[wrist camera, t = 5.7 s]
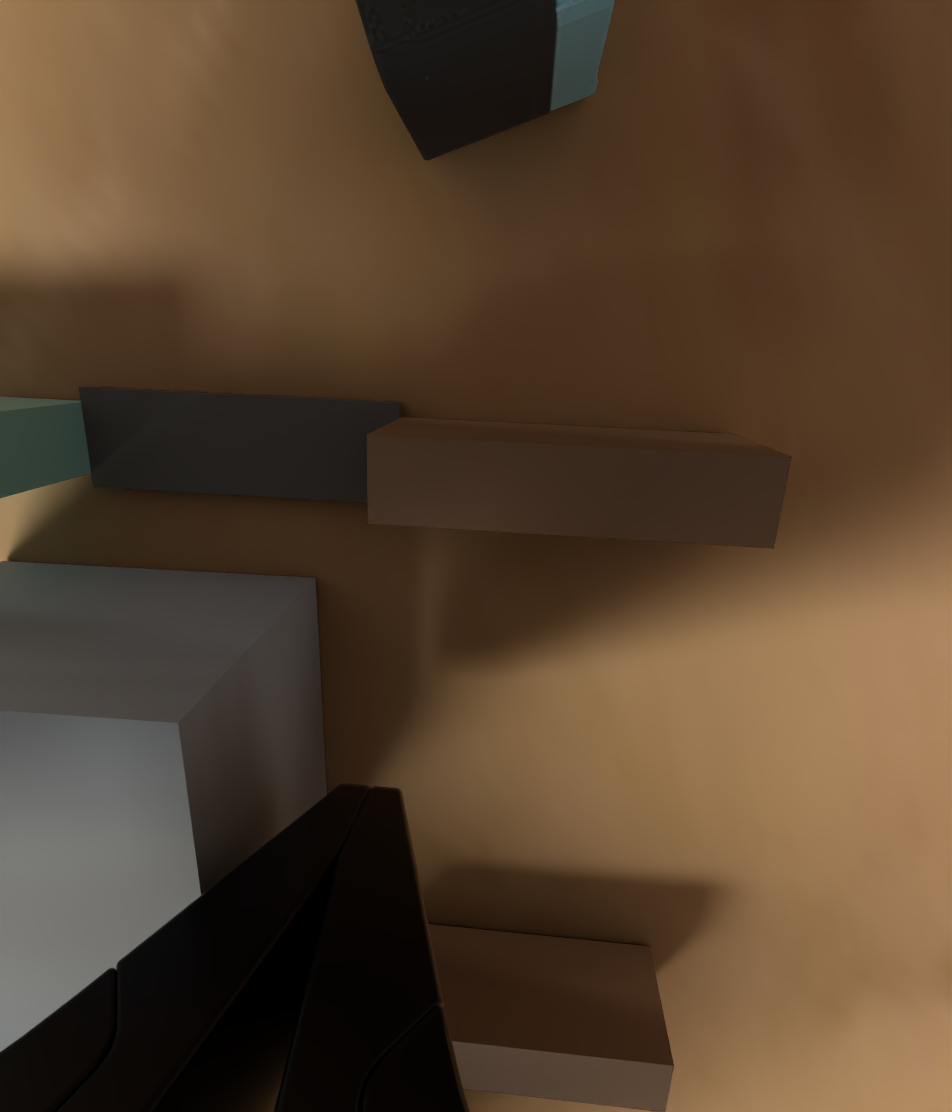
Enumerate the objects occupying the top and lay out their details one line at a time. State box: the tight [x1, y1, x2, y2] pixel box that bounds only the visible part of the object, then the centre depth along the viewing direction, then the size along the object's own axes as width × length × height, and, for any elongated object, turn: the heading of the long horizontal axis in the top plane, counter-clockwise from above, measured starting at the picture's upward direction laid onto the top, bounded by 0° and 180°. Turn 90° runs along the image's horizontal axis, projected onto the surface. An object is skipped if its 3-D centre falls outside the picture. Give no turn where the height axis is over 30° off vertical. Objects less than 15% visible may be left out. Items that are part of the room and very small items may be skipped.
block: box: [0, 561, 327, 1052], centre depth 9 cm, size 5×5×4 cm
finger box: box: [0, 387, 791, 1112], centre depth 9 cm, size 10×18×3 cm, turn 88°
